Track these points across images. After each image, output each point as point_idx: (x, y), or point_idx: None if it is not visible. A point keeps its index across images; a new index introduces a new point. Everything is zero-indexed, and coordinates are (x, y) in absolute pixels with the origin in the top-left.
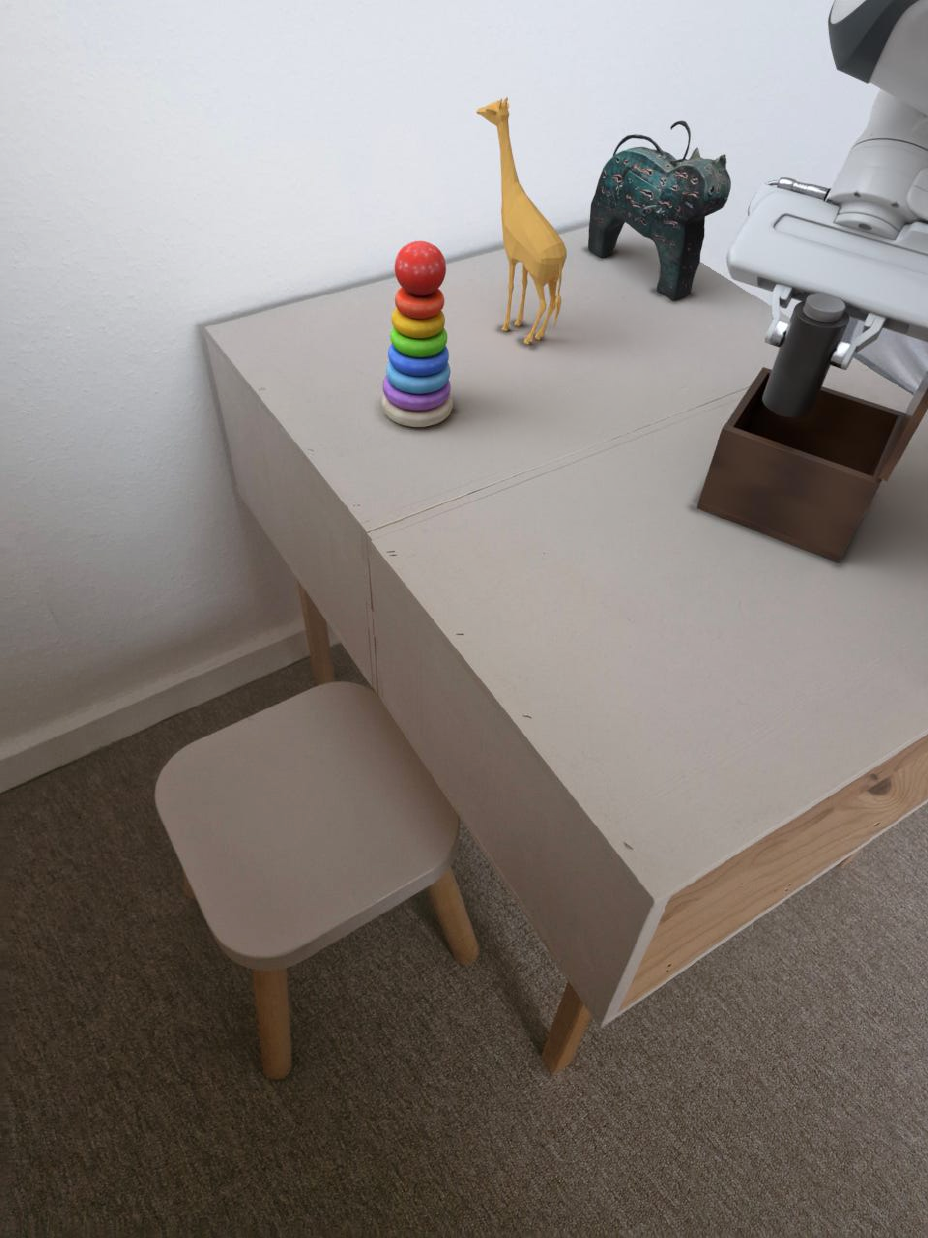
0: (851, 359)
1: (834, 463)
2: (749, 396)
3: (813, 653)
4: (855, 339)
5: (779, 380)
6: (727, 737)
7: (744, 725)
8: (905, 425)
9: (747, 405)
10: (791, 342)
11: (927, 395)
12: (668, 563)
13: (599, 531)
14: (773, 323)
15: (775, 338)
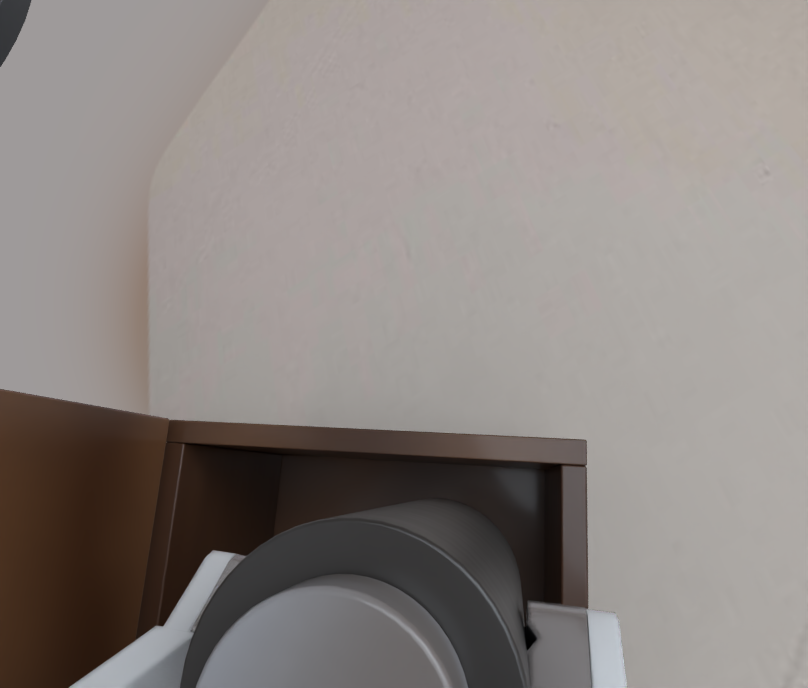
0: None
1: (274, 444)
2: None
3: (285, 219)
4: (165, 651)
5: (473, 519)
6: (361, 31)
7: (346, 58)
8: (59, 464)
9: None
10: (469, 541)
11: None
12: (548, 274)
13: (705, 281)
14: (613, 679)
15: (560, 607)
